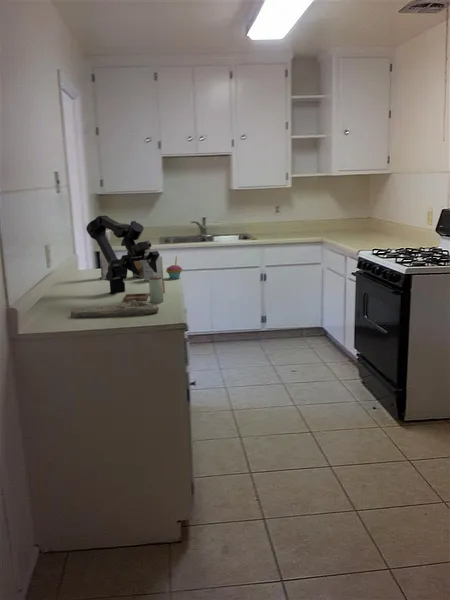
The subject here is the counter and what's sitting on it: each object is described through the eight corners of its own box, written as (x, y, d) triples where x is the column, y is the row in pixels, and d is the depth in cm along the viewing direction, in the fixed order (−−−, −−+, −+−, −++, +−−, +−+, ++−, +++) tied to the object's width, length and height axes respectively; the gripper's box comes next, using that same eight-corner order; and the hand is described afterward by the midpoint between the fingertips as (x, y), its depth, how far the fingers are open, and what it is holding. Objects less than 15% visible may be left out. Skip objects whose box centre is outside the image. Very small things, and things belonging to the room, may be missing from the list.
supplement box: (154, 278, 309) (152, 255, 307) (163, 279, 305) (162, 255, 302) (144, 280, 304) (142, 256, 301) (153, 281, 299) (152, 257, 296)
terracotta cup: (151, 295, 264) (151, 282, 263) (152, 292, 270) (151, 280, 269) (164, 294, 265) (164, 281, 263) (165, 292, 270) (164, 279, 269)
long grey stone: (74, 317, 234) (69, 324, 224) (72, 305, 232) (67, 312, 223) (159, 308, 235) (158, 315, 226) (158, 296, 234) (156, 303, 224)
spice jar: (150, 303, 247) (148, 278, 244) (150, 301, 252) (149, 276, 250) (163, 303, 247) (161, 277, 245) (163, 300, 252) (162, 275, 250)
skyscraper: (98, 277, 316) (94, 227, 310) (113, 276, 319) (109, 226, 314) (101, 280, 309) (97, 228, 303) (116, 278, 312) (112, 227, 306)
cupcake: (175, 276, 313) (174, 254, 310) (185, 277, 307) (184, 255, 304) (163, 278, 307) (162, 256, 304) (173, 280, 301) (172, 257, 298)
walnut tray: (123, 302, 250) (123, 298, 250) (126, 298, 260) (125, 294, 260) (146, 301, 251) (146, 297, 251) (148, 297, 261) (147, 293, 260)
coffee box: (132, 277, 314) (130, 248, 311) (139, 275, 319) (137, 247, 316) (144, 278, 309) (142, 249, 306) (152, 276, 315) (150, 247, 311)
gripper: (120, 236, 246) (135, 264, 240) (156, 233, 258) (171, 259, 252) (112, 253, 253) (127, 280, 247) (147, 249, 265) (162, 275, 259)
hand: (147, 273), depth 251 cm, fingers open, 9 cm apart
